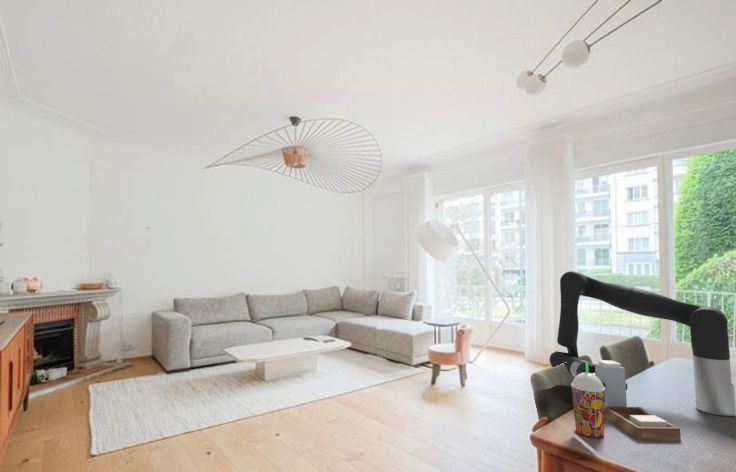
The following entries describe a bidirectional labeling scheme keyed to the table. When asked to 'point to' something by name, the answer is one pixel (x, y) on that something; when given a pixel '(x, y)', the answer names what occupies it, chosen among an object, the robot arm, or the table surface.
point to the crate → (622, 420)
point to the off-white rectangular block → (648, 421)
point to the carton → (612, 382)
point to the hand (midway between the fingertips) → (615, 387)
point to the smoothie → (588, 404)
